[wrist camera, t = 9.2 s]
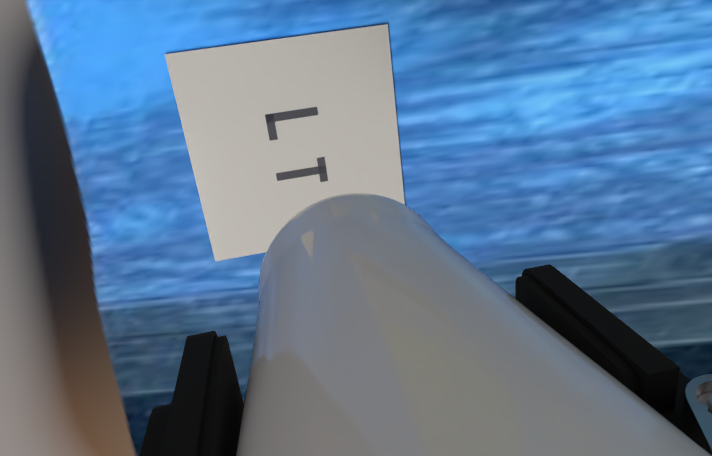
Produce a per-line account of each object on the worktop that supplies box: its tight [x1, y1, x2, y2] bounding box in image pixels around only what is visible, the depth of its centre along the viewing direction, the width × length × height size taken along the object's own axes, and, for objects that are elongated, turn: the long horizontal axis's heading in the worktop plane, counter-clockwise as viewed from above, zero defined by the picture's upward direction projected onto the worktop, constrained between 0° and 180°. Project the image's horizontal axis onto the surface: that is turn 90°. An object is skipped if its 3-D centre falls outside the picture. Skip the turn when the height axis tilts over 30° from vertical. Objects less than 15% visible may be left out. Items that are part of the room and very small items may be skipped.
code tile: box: [165, 24, 405, 261], centre depth 33 cm, size 13×13×1 cm
